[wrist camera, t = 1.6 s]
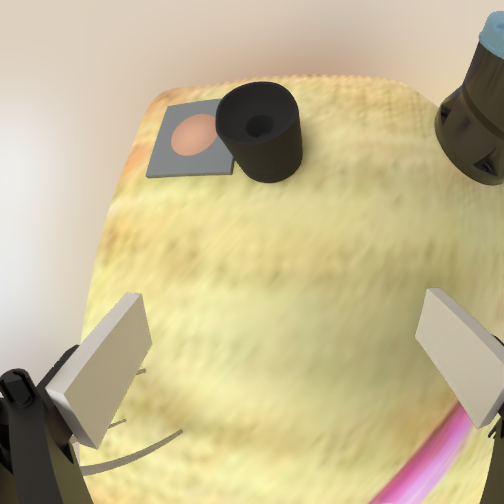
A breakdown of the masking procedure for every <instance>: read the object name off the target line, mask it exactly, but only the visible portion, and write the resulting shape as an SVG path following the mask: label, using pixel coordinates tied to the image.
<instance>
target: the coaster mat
mask: <svg viewBox="0 0 504 504" xmlns="http://www.w3.org/2000/svg"><path fill="white" fill-rule="evenodd" d="M221 100H222V99H213V100H205V101H198V102H191V103H185V104H179V105H173V106H168V107H167V110H166V113H165V115H164V118H163V121H162V124H161V127H160V130H159V133H158V136H157V139H156V142H155V145H154V149H153V152H152V155H151V159H150V162H149V165H148V169H147V172H146V177H147V178H158V177H176V176H200V175H232V171H233V165H234V157H233V156H232V154H231V153H230V151H229V150H228V149H227V147H226V146H225V144H224V143H223V141H222V140H221V139H220V137H219V136H218V134H217V132H216V127H215V118H216V110H217V107H218V105H219V103H220V101H221Z"/></svg>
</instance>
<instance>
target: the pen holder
mask: <svg viewBox="0 0 504 504" xmlns="http://www.w3.org/2000/svg"><path fill="white" fill-rule="evenodd" d="M215 127H216V132H217V134H218V136H219V137H220V139H221V140H222V141H223V143H224V144H225V146H226V147H227V149H228V150H229V151H230V153H231V154H232V156H233V157H234V159H235V160H236V162H237V163H238V164H239V166H240V167H241V168H242V170H243V171H244V172H245V173H246V174H247V175H248V176H249V177H250V178H252V179H254V180H256V181H260V182H276V181H280V180H283V179H285V178H287V177H288V176H290V175H291V174H292V173H294V171H295V170H296V169H297V168H298V166H299V165H300V162H301V160H302V138H301V128H300V119H299V110H298V106H297V103H296V101H295V99H294V97H293V96H292V94H291V93H290V92H289V91H288V90H287V89H286V88H285V87H283V86H281V85H279V84H277V83H273V82H252V83H248V84H245V85H242V86H239V87H237V88H235V89H234V90H232V91H230V92H229V93H228V94H226V95H225V96H224V97H223V98H222V100H221V101H220V103H219V105H218V107H217V110H216V118H215Z"/></svg>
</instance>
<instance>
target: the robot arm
mask: <svg viewBox="0 0 504 504" xmlns="http://www.w3.org/2000/svg"><path fill="white" fill-rule="evenodd" d="M435 130H436V134H437V137H438V140H439V142H440V144H441V146H442V148H443V150H444V151H445V153H446V154H447V156H448V157H449V158H450V160H451V161H452V162H453V163H454V164H455V165H456V166H457V167H458V168H459V169H460V170H461V171H462V172H464V173H465V174H466V175H468V176H469V177H471V178H472V179H474V180H476V181H478V182H481V183H484V184H488V185H497V184H501V183H503V182H504V11H497V12H493V13H491V14H490V15H489V17H488V18H487V21H486V23H485V26H484V28H483V31H482V32H481V33H480V34H479V43H478V45H477V48H476V51H475V54H474V57H473V59H472V62H471V65H470V67H469V69H468V72H467V74H466V77H465V79H464V82H463V84H462V86H460V87H459V88H458V89H457V90H456V91H455V92H453V93H452V94H451V95H450V96H448V97H447V98H446V99H445V100H444V101H443V102H442V104H441V105H440V107H439V110H438V112H437V114H436V117H435ZM415 338H416V340H417V341H418V342H419V344H420V345H421V346H422V348H423V349H424V350H425V352H426V353H427V355H428V356H429V357H430V359H431V360H432V362H433V363H434V364H435V366H436V367H437V369H438V370H439V372H440V373H441V374H442V376H443V377H444V379H445V380H446V382H447V383H448V385H449V386H450V388H451V389H452V391H453V392H454V394H455V395H456V397H457V398H458V400H459V401H460V403H461V405H462V406H463V408H464V409H465V411H466V412H467V414H468V416H469V417H470V419H471V421H472V422H473V424H474V425H475V427H476V429H479V428H482V427H484V426H486V425H488V424H490V423H491V421H492V420H493V419H494V417H495V416H496V414H497V412H498V413H499V414H500V416H501V417H500V419H499V420H498V422H497V423H496V425H495V426H494V427H493V429H492V430H491V431H490V433H489V435H488V437H489V438H490V437H491V435H492V434H493V433H494V432H495V431H496V434H495V436H494V437H493V439H495V441H494V447H493V453H492V458H491V463H490V467H489V472H488V476H487V480H486V484H485V487H484V491H483V494H482V498H481V501H480V504H504V344H503V343H502V342H501V341H500V340H499V339H498V338H497V337H496V336H494V335H492V334H490V333H489V332H488V331H487V330H486V329H485V328H484V327H483V326H482V325H481V324H480V323H479V322H478V321H477V320H476V319H475V318H473V317H472V316H471V315H470V314H469V313H468V312H467V311H466V310H465V309H464V308H462V307H461V306H460V305H459V304H458V303H457V302H456V301H455V300H453V299H452V298H451V297H450V296H449V295H448V294H446V293H445V292H444V291H443V290H442V289H441V288H439V287H436V288H427V291H426V295H425V300H424V304H423V308H422V312H421V316H420V320H419V324H418V327H417V331H416V334H415ZM151 345H152V340H151V336H150V331H149V327H148V322H147V318H146V313H145V308H144V303H143V298H142V293H126V294H125V295H124V296H123V298H122V299H121V300H120V301H119V302H118V303H117V304H116V305H115V306H114V307H113V308H112V309H111V311H110V312H109V313H108V314H107V315H106V316H105V317H104V318H103V319H102V321H101V322H100V323H99V324H98V325H97V326H96V327H95V329H94V330H93V331H92V332H91V333H90V334H89V335H88V337H87V338H86V339H85V340H84V341H83V342H82V344H81V345H75V346H73V347H72V348H70V349H69V350H67V351H66V352H65V353H64V354H63V356H62V357H61V358H60V360H59V361H57V362H56V364H55V365H54V367H52V368H51V370H50V371H49V372H48V373H47V374H46V376H45V377H44V378H43V379H42V380H41V381H40V383H39V384H38V385H37V386H36V387H35V385H34V383H33V381H32V380H31V378H30V376H29V374H28V372H27V371H25V370H23V369H12V370H10V371H7V372H6V373H4V374H3V375H2V376H1V377H0V392H1V393H2V395H3V396H4V398H0V504H94V503H93V501H92V499H91V496H90V494H89V492H88V489H87V486H86V484H85V481H84V479H83V476H82V473H81V470H80V467H79V464H78V461H77V458H76V455H75V452H74V449H73V446H72V444H71V442H70V441H69V440H70V438H71V436H72V434H73V435H74V436H75V438H76V439H77V440H78V442H79V443H80V444H82V445H85V446H88V447H91V448H94V449H97V450H98V448H99V446H100V444H101V442H102V440H103V438H104V435H105V433H106V431H107V429H108V427H109V425H110V423H111V421H112V419H113V417H114V415H115V413H116V411H117V409H118V408H119V406H120V404H121V402H122V400H123V398H124V396H125V394H126V392H127V390H128V388H129V386H130V384H131V382H132V381H133V379H134V377H135V375H136V373H137V371H138V369H139V367H140V366H141V364H142V362H143V360H144V358H145V356H146V354H147V353H148V351H149V349H150V347H151Z"/></svg>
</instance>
